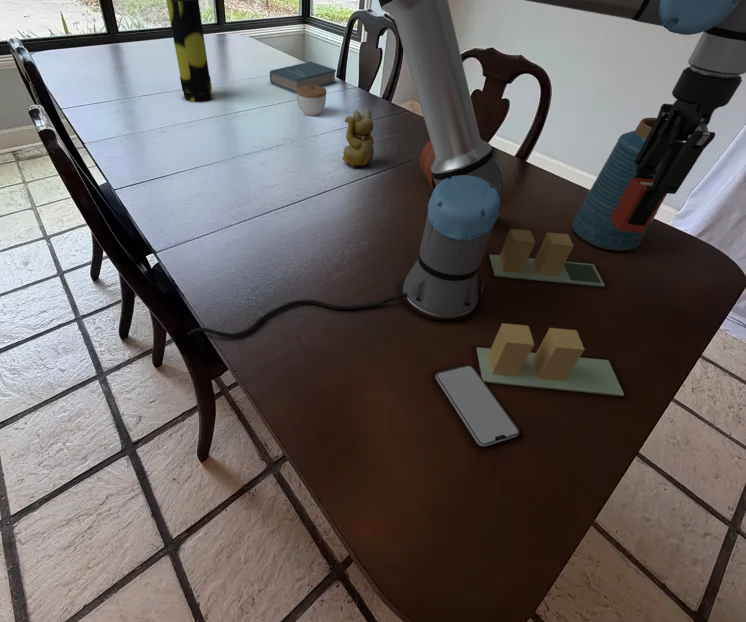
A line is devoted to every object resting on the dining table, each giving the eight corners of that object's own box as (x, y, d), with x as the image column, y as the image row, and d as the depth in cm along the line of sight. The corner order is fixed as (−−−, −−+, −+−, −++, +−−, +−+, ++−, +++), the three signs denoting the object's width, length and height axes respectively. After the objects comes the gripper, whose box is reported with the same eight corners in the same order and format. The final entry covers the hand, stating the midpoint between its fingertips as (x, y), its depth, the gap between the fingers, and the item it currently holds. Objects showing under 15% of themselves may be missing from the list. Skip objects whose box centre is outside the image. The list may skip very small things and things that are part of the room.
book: (296, 93, 176) (296, 79, 172) (270, 83, 183) (269, 69, 179) (335, 83, 188) (336, 69, 184) (309, 74, 195) (309, 61, 191)
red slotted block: (617, 230, 80) (641, 188, 74) (610, 218, 83) (632, 176, 77) (643, 233, 80) (668, 191, 74) (634, 220, 83) (658, 179, 77)
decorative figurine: (361, 155, 137) (365, 103, 127) (379, 165, 133) (386, 112, 123) (338, 163, 133) (340, 110, 122) (357, 173, 129) (361, 119, 118)
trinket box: (310, 105, 167) (310, 78, 160) (331, 113, 162) (332, 85, 155) (290, 112, 161) (289, 83, 154) (312, 120, 156) (312, 91, 149)
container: (219, 97, 167) (205, -1, 146) (196, 104, 161) (179, 2, 140) (200, 91, 172) (185, -6, 150) (177, 97, 166) (158, -3, 144)
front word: (482, 382, 75) (497, 348, 69) (476, 348, 81) (489, 314, 75) (623, 396, 75) (650, 363, 69) (607, 361, 80) (631, 328, 74)
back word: (494, 276, 97) (507, 244, 91) (489, 255, 102) (500, 223, 96) (604, 286, 96) (624, 254, 90) (592, 265, 102) (610, 233, 96)
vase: (651, 254, 106) (726, 141, 87) (587, 253, 105) (649, 139, 86) (617, 218, 118) (677, 112, 98) (559, 218, 116) (608, 110, 97)
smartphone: (471, 363, 77) (522, 433, 67) (470, 366, 78) (520, 436, 68) (433, 373, 75) (481, 446, 65) (433, 375, 76) (479, 448, 66)
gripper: (776, 91, 57) (671, 245, 74) (713, 57, 69) (635, 195, 86) (716, 86, 57) (625, 240, 74) (664, 53, 70) (596, 192, 86)
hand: (631, 216), depth 80 cm, fingers closed on red slotted block, 4 cm apart
